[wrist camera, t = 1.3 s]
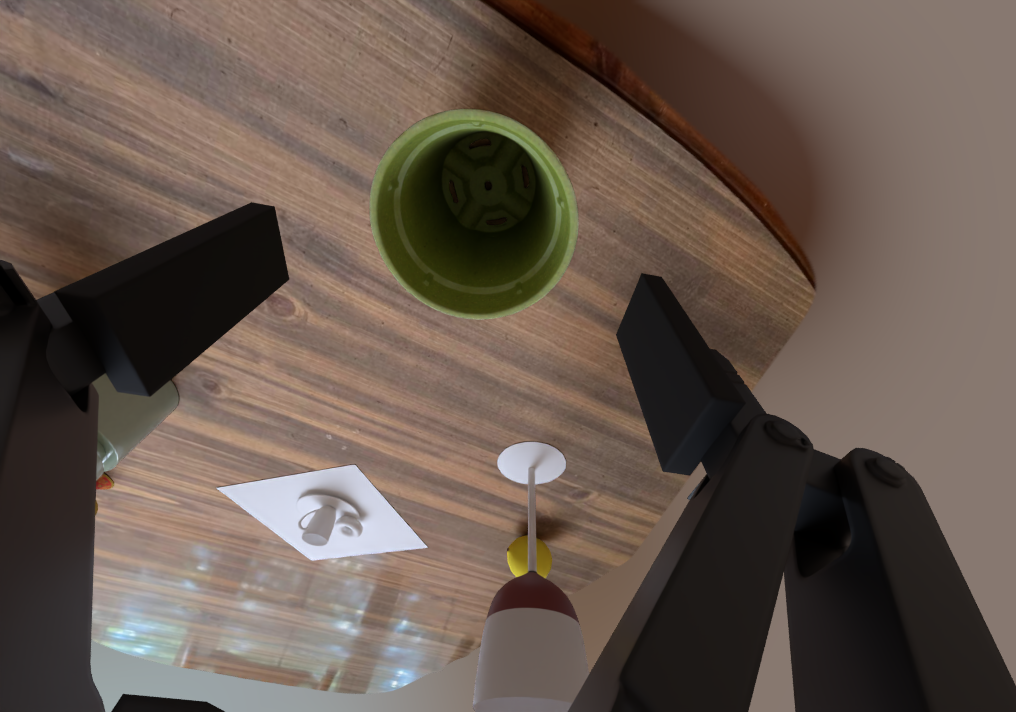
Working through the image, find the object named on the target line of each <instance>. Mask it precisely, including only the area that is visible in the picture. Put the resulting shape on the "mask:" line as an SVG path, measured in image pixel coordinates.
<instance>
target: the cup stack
mask: <svg viewBox="0 0 1016 712" xmlns="http://www.w3.org/2000/svg"><path fill="white" fill-rule="evenodd" d="M92 384H93V385H94V387H95V388H96V390H97V392H98V394H99V410H98V441H97V472H96V481H97V480H98V479H99V478H100V477H101V476H102V475H103V472H106V471H109V470H111V469H113V468H114V467H115V466H117V465H118V464H119V463H120V462H121V461H122V460H123V459H124V458H125V457H126V456H127V455H128V454H129V453H130V452H131V451H132V450H133V449H134V448H135V447H136V446H137V445H138V444H140V443H141V442H142V441H143V440H144V439H145V438H146V437H147V436H148V435H149V434H150V433H151V432H152V431H153V430H154V429H155V428H156V427H157V426H158V425H159V424H160V423H161V422H163V421H164V420H165V419H166V418H167V417H168V416H169V415H170V414H171V413H172V412H173V411H174V410H175V409H176V408H177V406H178V402H179V396H178V392H177V390H176V387H175V386H174V384H173V382H172V381H171V380H170V381H169V382H167V383H166V384H165V385H164V386H163V387H161V388H160V389H159V390H158V391H157V392H156V393H154V394H153V395H152V396H151V397H147V396H141V395H134V394H127V393H120V392H117V391H116V389H115V388H114V386H113V384H112V383H111V381H110V380H109V378H108V376H107V375H106V373H105V374H104V375H102V376H101V377H99V378H98V379H97V380H95V381H94V382H92Z"/></svg>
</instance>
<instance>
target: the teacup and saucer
mask: <svg viewBox="0 0 1016 712" xmlns="http://www.w3.org/2000/svg"><path fill="white" fill-rule="evenodd" d="M295 509H296V511H297V512H298V513H299V515H300V516H301V518H300V519H299V521H298V522H297V527H298V529H299V530H300V531H301V532H302V534H301V537H300V538H301V540H302V541H303V542H304V543H306V544H308V545H310V546H314V547H324V546H326V545H327V544H328V543H329V541H330V539H331V536H332V533H333V530H334V529H335V530H336V532H337V533H338V534H339V535H340V536H342V537H344V538H347V539H357V538H359V537H360V536H361V535H362V534H363V532H364V527H363V524H362V523H361V522H360V513H359V511H358V510H357V509H356V508H355V507H354V506H353V505H352V504H351V503H349V502H348V501H346V500H344V499H342V498H339V497H336V496H333V495H329V494H322V493H311V494H306V495H303V496H301V497H300V498H298V499H297V501H296V502H295ZM304 519H305V520H307V521H309V522H308V524H307V525H306V527H303V525H302V522H303V520H304Z"/></svg>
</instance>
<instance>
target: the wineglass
mask: <svg viewBox="0 0 1016 712" xmlns="http://www.w3.org/2000/svg"><path fill="white" fill-rule="evenodd" d="M497 462H498V468H499V470H500V471H501V473H502V474H503V475H505V476H506V477H507V478H508V479H511V480H513V481H515V482H518V483H523V484H528V572H527V573H526V574H524V575H522V576H519V577H516V578H514V579H512V580H511V581H509V582H508V583H506V584H505V585H504V586H503V587H502V588H501V589H500V590H499V591H498V592H497V594H496V595H495V597H494V599H493V601H492V603H491V606H490V609H489V612H488V615H487V619H486V623H485V627H484V631H483V636H482V641H481V647H480V654H479V661H478V667H477V675H476V682H475V692H474V701H473V709H474V711H476V712H568V710H569V708H570V707H571V705H572V703H573V701H574V700H575V698H576V696H577V694H578V693H579V691H580V689H581V688H582V686H583V684H584V682H585V681H586V679H587V677H588V675H589V671H588V664H587V658H586V652H585V646H584V641H583V636H582V632H581V628H580V624H579V621H578V618H577V615H576V613H575V610H574V608H573V606H572V604H571V602H570V600H569V599H568V597H567V596H566V595H565V594H564V593H563V591H562V590H561V589H560V588H559V587H557V586H556V585H555V584H553V583H552V582H551V581H549V580H547V579H545V578H544V577H542V576H540V575H539V574H538V573H537V559H536V499H535V484H541V483H547V482H549V481H552V480H554V479H556V478H557V477H558V476H560V475H561V474H562V473H563V471H564V469H565V468H566V460H565V458H564V456H563V454H562V453H561V452H560V451H559V450H558V449H556V448H554V447H552V446H550V445H548V444H544V443H539V442H523V443H518V444H514V445H512V446H510V447H508V448H506V449H505V450H504V451H503V452H502V453H501V454H500V456H499V458H498V461H497Z"/></svg>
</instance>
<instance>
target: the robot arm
mask: <svg viewBox="0 0 1016 712" xmlns="http://www.w3.org/2000/svg"><path fill="white" fill-rule="evenodd" d="M288 280H289V275H288V270H287V266H286V261H285V256H284V251H283V246H282V241H281V236H280V231H279V226H278V221H277V216H276V211H275V207H274V206H269V205H263V204H258V203H252V202H251V203H249V204H247V205H245V206H243V207H240V208H238V209H236V210H234V211H232V212H229V213H227V214H225V215H223V216H220V217H218V218H216V219H214V220H212V221H209V222H207V223H205V224H203V225H201V226H198V227H196V228H194V229H192V230H190V231H187V232H185V233H183V234H181V235H178V236H176V237H174V238H172V239H170V240H167V241H165V242H163V243H161V244H159V245H156V246H154V247H152V248H150V249H147V250H145V251H143V252H141V253H139V254H136V255H134V256H132V257H130V258H128V259H125V260H123V261H121V262H119V263H116V264H114V265H112V266H110V267H108V268H105V269H103V270H101V271H99V272H97V273H94V274H92V275H90V276H88V277H85V278H83V279H81V280H79V281H77V282H74V283H72V284H70V285H68V286H66V287H63V288H61V289H59V290H57V291H55V292H53V293H51V294H49V295H47V296H44V297H42V298H40V299H38V300H36V299H35V298H34V296H33V295H32V293H31V292H30V290H29V289H28V288H27V286H26V285H25V283H24V282H23V280H22V279H21V277H20V276H19V274H18V273H17V271H16V270H15V268H14V267H13V265H12V264H11V263H8V262H6V261H3V260H0V712H105V709H104V705H103V701H102V698H101V696H100V694H99V692H98V690H97V688H96V686H95V684H94V682H93V679H92V674H91V665H90V657H91V627H92V596H93V565H94V534H95V503H96V472H97V441H98V410H99V394H98V392H97V390H96V388H95V387H94V385H93V384H92V382H94V381H95V380H97V379H98V378H99V377H101V376H102V375H104V374H105V373H106V375H107V376H108V378H109V380H110V381H111V383H112V384H113V386H114V388H115V389H116V391H117V392H120V393H127V394H134V395H141V396H147V397H151V396H152V395H153V394H154V393H156V392H157V391H158V390H159V389H160V388H161V387H163V386H164V385H165V384H166V383H167V382H169V381H170V380H171V379H172V378H173V377H174V376H176V375H177V374H178V373H179V372H180V371H182V370H183V369H184V368H185V367H186V366H187V365H189V364H190V363H191V362H192V361H193V360H195V359H196V358H197V357H198V356H199V355H200V354H202V353H203V352H204V351H205V350H206V349H208V348H209V347H210V346H211V345H212V344H214V343H215V342H216V341H217V340H218V339H219V338H221V337H222V336H223V335H224V334H225V333H227V332H228V331H229V330H230V329H231V328H232V327H234V326H235V325H236V324H237V323H238V322H240V321H241V320H242V319H243V318H244V317H245V316H247V315H248V314H249V313H250V312H251V311H253V310H254V309H255V308H256V307H257V306H258V305H260V304H261V303H262V302H263V301H264V300H266V299H267V298H268V297H269V296H270V295H271V294H273V293H274V292H275V291H276V290H277V289H279V288H280V287H281V286H282V285H283V284H284V283H286V282H287V281H288ZM616 336H617V339H618V342H619V345H620V348H621V351H622V354H623V357H624V360H625V362H626V365H627V368H628V371H629V374H630V377H631V380H632V383H633V386H634V389H635V392H636V395H637V398H638V400H639V403H640V406H641V409H642V412H643V415H644V418H645V421H646V424H647V427H648V430H649V433H650V436H651V438H652V441H653V444H654V447H655V450H656V453H657V456H658V459H659V462H660V465H661V468H662V471H663V472H670V473H677V474H684V475H691V473H692V472H693V471H694V470H695V468H696V467H697V466H698V464H699V463H700V462H702V464H703V466H704V468H705V471H706V473H707V474H706V476H705V477H704V478H703V479H702V481H701V482H700V483H699V484H698V485H697V487H696V488H695V489H694V490H693V492H692V493H691V494H690V495H689V496H688V498H687V499H689V500H690V501H689V502H688V504H687V506H686V508H685V509H684V511H683V513H682V515H681V517H680V518H679V520H678V521H677V523H676V525H675V527H674V528H673V530H672V532H671V533H670V535H669V537H668V539H667V540H666V542H665V544H664V546H663V547H662V549H661V551H660V553H659V554H658V556H657V558H656V560H655V561H654V563H653V565H652V566H651V568H650V570H649V572H648V573H647V575H646V577H645V578H644V580H643V582H642V584H641V586H640V587H639V589H638V591H637V593H636V594H635V596H634V598H633V599H632V601H631V603H630V605H629V606H628V608H627V610H626V612H625V613H624V615H623V617H622V619H621V620H620V622H619V623H618V625H617V627H616V629H615V630H614V632H613V634H612V636H611V638H610V639H609V641H608V643H607V644H606V646H605V648H604V649H603V651H602V653H601V655H600V656H599V658H598V660H597V662H596V663H595V665H594V667H593V669H592V670H591V672H590V674H589V675H588V677H587V679H586V681H585V682H584V684H583V686H582V688H581V689H580V691H579V693H578V694H577V696H576V698H575V700H574V701H573V703H572V705H571V707H570V708H569V710H568V712H748V710H749V706H750V702H751V698H752V694H753V691H754V687H755V683H756V679H757V675H758V671H759V667H760V663H761V659H762V655H763V651H764V647H765V643H766V639H767V635H768V631H769V628H770V624H771V619H772V616H773V612H774V607H775V604H776V600H777V596H778V591H779V588H780V584H781V580H782V576H783V572H784V579H785V591H786V602H787V615H788V627H789V638H790V651H791V663H792V675H793V687H794V699H795V711H796V712H1016V686H1015V683H1014V681H1013V679H1012V677H1011V675H1010V673H1009V671H1008V669H1007V667H1006V665H1005V663H1004V660H1003V659H1002V656H1001V654H1000V652H999V650H998V648H997V646H996V644H995V642H994V639H993V637H992V635H991V633H990V631H989V629H988V627H987V625H986V623H985V621H984V619H983V617H982V614H981V612H980V610H979V608H978V606H977V604H976V602H975V600H974V598H973V596H972V594H971V591H970V589H969V587H968V585H967V583H966V581H965V579H964V577H963V575H962V573H961V571H960V568H959V566H958V564H957V562H956V560H955V558H954V556H953V554H952V552H951V550H950V548H949V546H948V544H947V541H946V539H945V537H944V535H943V533H942V531H941V529H940V527H939V525H938V523H937V520H936V518H935V516H934V514H933V512H932V510H931V508H930V506H929V504H928V502H927V500H926V497H925V495H924V493H923V491H922V489H921V487H920V486H919V484H918V483H917V482H916V480H915V479H914V478H913V477H912V476H911V475H910V474H909V473H908V472H907V471H906V470H905V468H903V467H902V466H901V465H900V464H898V463H895V461H894V460H892V459H891V458H889V457H885V456H883V455H881V454H879V453H877V452H875V451H872V450H868V449H865V448H855V449H853V450H852V451H850V452H849V453H848V454H847V455H846V456H845V457H843V458H842V459H838V458H836V457H833V456H830V455H828V454H825V453H822V452H820V451H817V450H814V449H813V444H812V443H811V442H810V440H809V438H808V437H807V436H806V435H805V434H804V433H803V432H802V431H801V430H800V429H799V428H797V427H796V426H794V425H793V424H791V423H790V422H788V421H786V420H784V419H782V418H779V417H777V416H774V415H770V414H766V412H765V411H764V409H763V408H762V407H761V405H760V404H759V402H758V401H757V399H756V398H755V397H754V395H753V394H752V392H751V391H750V390H749V388H748V387H747V385H745V384H744V381H743V380H742V378H741V377H740V375H737V371H736V370H735V368H734V367H733V366H732V364H731V363H730V361H729V360H727V359H726V358H725V357H724V356H723V355H721V354H720V353H719V352H718V351H717V350H714V349H710V348H709V347H708V345H707V344H706V342H705V341H704V339H703V338H702V336H701V335H700V333H699V332H698V330H697V329H696V328H695V326H694V325H693V323H692V322H691V320H690V319H689V317H688V316H687V314H686V313H685V311H684V310H683V308H682V307H681V305H680V304H679V302H678V301H677V299H676V298H675V296H674V295H673V293H672V292H671V290H670V289H669V287H668V286H667V284H666V283H665V281H664V280H663V278H662V277H659V276H654V275H648V274H643V273H642V274H641V276H640V278H639V281H638V283H637V286H636V288H635V291H634V293H633V295H632V298H631V300H630V303H629V305H628V307H627V310H626V312H625V315H624V317H623V319H622V322H621V324H620V327H619V329H618V331H617V334H616ZM112 712H224V711H223V710H221V709H219V708H217V707H215V706H213V705H211V704H210V703H208V702H202V701H192V700H181V699H171V698H161V697H150V696H139V695H129V694H123V695H122V696H121V698H120V699H119V701H118V703H117V704H116V706H115V707H114V709H113V710H112Z"/></svg>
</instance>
